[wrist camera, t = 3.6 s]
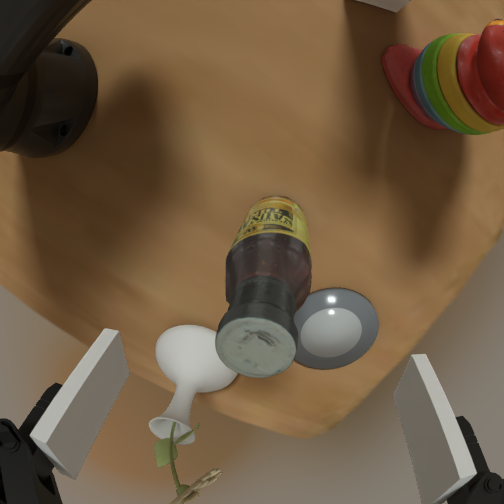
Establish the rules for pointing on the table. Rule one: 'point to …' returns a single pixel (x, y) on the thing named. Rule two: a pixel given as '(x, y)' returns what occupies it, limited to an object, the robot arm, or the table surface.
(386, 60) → the stacking bear
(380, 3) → the milk
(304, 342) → the coaster
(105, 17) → the table surface
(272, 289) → the sauce bottle
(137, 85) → the table surface
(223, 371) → the flower in vase
